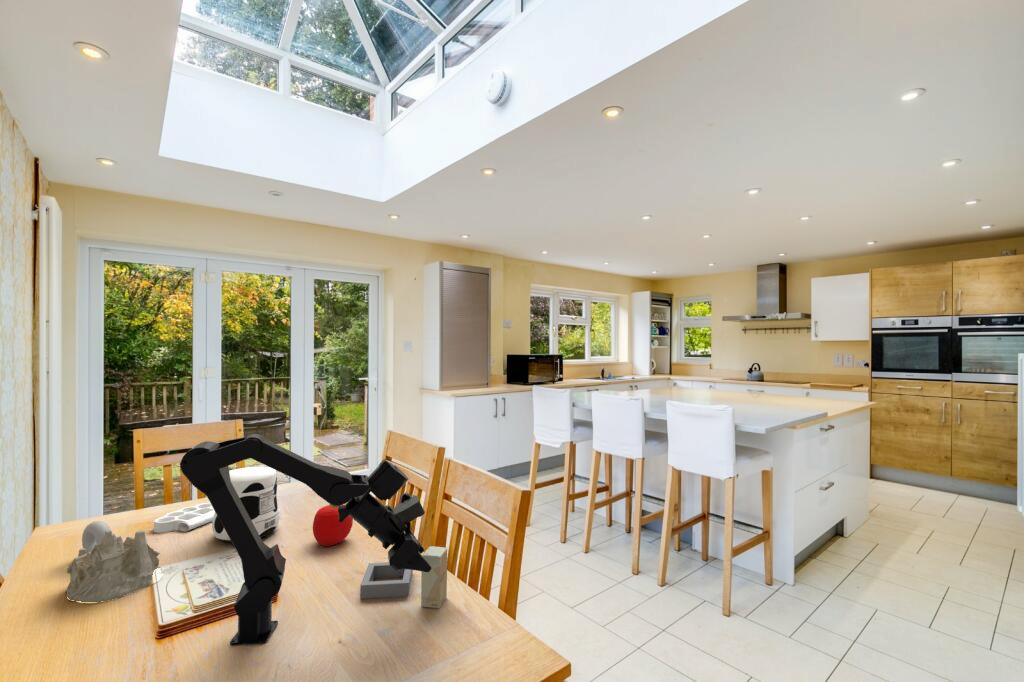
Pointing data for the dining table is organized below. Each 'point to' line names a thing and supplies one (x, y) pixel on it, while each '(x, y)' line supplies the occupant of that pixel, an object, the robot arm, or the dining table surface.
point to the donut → (94, 534)
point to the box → (434, 578)
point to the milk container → (254, 499)
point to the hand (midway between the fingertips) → (426, 560)
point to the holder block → (385, 582)
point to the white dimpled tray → (185, 518)
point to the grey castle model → (112, 568)
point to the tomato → (330, 526)
